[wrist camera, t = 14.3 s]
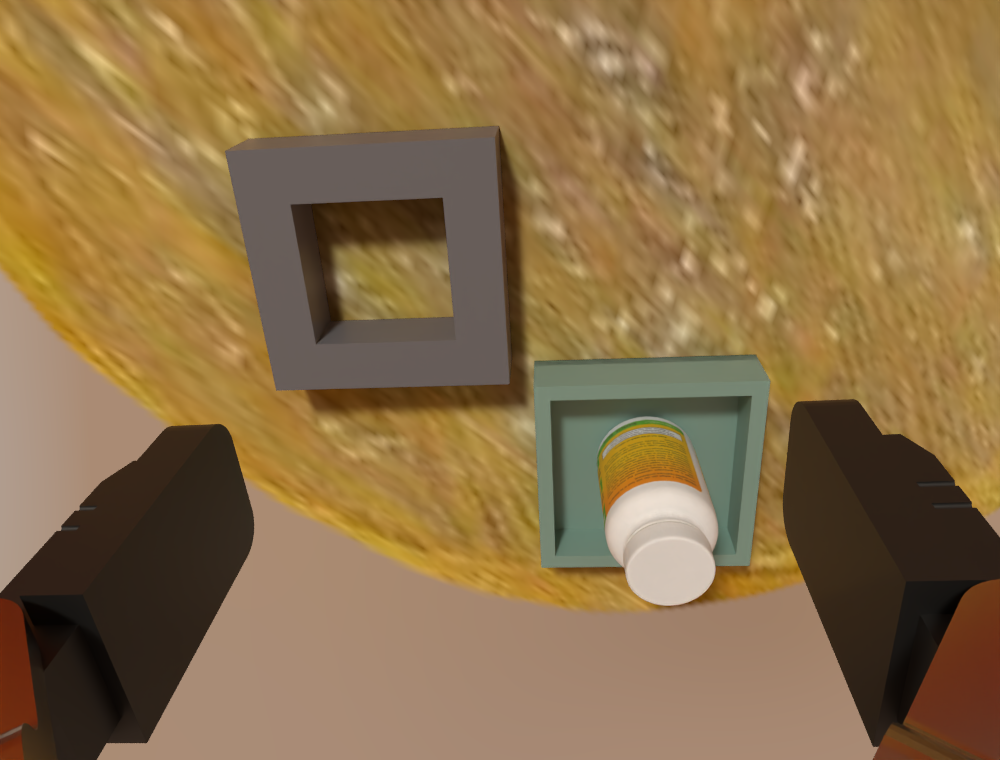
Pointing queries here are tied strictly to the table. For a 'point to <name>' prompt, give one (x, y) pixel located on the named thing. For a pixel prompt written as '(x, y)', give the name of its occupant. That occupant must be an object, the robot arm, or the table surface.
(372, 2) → the table surface
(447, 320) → the socket block
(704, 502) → the supplement bottle
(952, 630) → the robot arm
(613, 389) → the tray
